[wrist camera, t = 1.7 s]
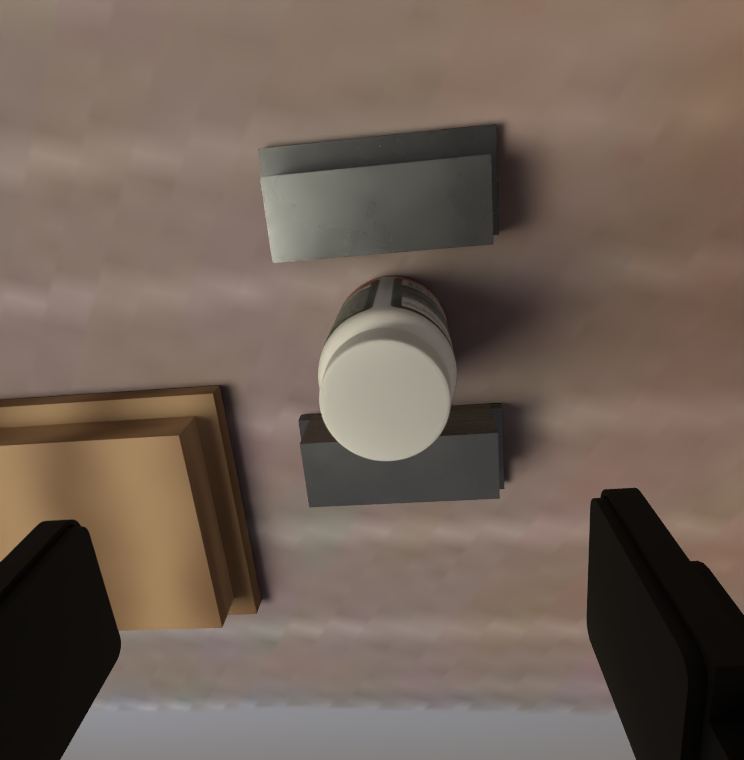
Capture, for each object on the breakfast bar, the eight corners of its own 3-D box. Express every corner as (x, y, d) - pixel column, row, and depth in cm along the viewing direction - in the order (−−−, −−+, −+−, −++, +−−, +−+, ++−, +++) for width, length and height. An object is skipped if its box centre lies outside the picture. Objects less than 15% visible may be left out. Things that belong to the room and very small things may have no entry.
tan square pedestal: (219, 385, 27) (197, 411, 24) (261, 600, 31) (246, 643, 29) (-28, 401, 28) (-76, 428, 26) (44, 607, 33) (9, 649, 30)
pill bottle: (344, 385, 27) (316, 479, 19) (330, 280, 25) (292, 337, 17) (451, 376, 26) (467, 469, 19) (443, 269, 25) (457, 321, 17)
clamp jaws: (494, 124, 23) (505, 120, 20) (502, 482, 28) (512, 518, 25) (261, 149, 24) (241, 148, 21) (312, 491, 29) (301, 527, 26)
